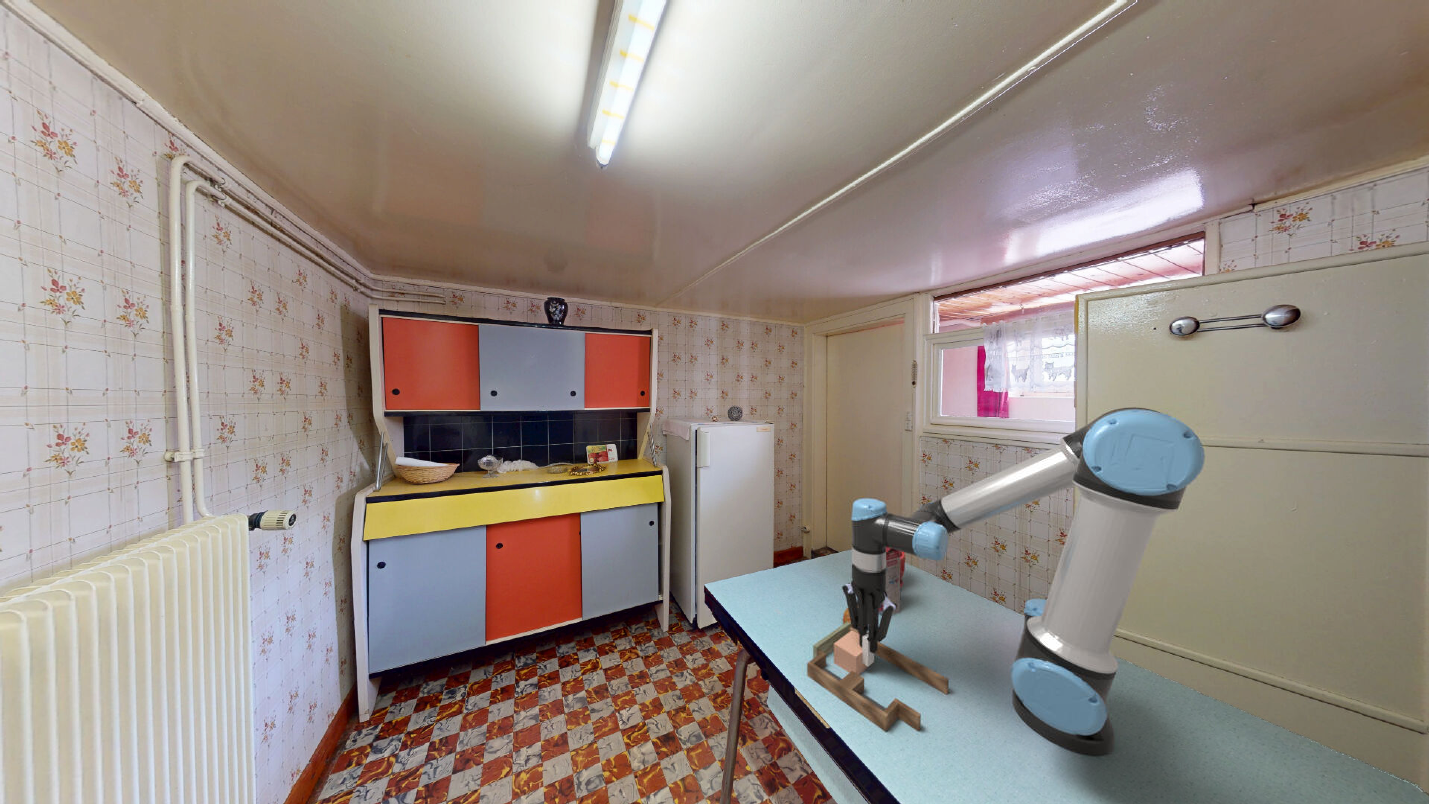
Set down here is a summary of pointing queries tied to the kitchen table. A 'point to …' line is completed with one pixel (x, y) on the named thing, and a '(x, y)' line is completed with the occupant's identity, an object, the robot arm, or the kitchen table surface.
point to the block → (849, 653)
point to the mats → (860, 694)
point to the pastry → (848, 616)
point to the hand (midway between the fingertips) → (868, 662)
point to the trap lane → (854, 683)
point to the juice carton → (892, 579)
